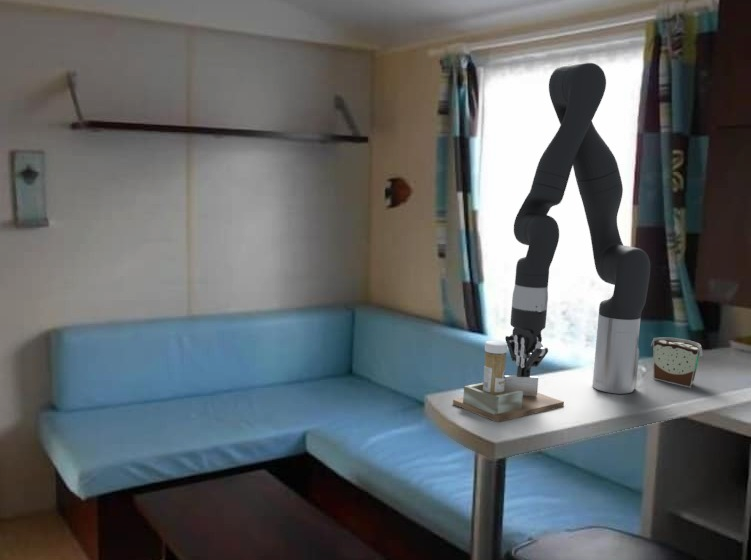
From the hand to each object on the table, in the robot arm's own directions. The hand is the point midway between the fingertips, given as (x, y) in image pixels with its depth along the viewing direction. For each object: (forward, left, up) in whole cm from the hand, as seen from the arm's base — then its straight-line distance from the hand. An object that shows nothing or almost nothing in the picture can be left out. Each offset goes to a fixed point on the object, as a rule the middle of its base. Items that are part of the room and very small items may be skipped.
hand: (522, 383), depth 173 cm
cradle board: (+7, +3, -3) cm, 8 cm away
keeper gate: (+4, +1, -2) cm, 4 cm away
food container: (-44, +10, -3) cm, 45 cm away
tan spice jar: (+13, +3, -2) cm, 13 cm away
